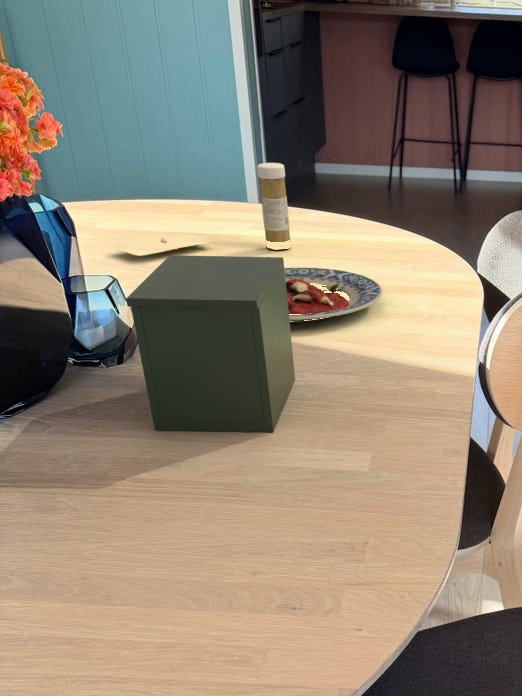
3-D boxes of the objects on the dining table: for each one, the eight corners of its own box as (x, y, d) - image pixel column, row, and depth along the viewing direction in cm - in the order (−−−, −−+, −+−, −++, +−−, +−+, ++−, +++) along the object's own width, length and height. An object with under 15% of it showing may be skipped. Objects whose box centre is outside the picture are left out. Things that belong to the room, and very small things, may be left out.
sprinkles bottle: (274, 244, 167) (266, 161, 159) (296, 246, 166) (289, 163, 158) (260, 249, 164) (251, 165, 156) (283, 252, 163) (275, 167, 155)
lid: (257, 309, 92) (256, 300, 92) (127, 306, 92) (125, 298, 91) (284, 264, 105) (283, 257, 105) (170, 262, 105) (169, 254, 105)
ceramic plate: (226, 342, 124) (223, 320, 122) (191, 290, 143) (188, 270, 141) (407, 322, 133) (407, 300, 131) (352, 275, 151) (351, 256, 150)
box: (273, 432, 101) (259, 306, 93) (154, 430, 100) (130, 304, 92) (295, 379, 113) (284, 265, 106) (189, 377, 113) (170, 262, 105)
